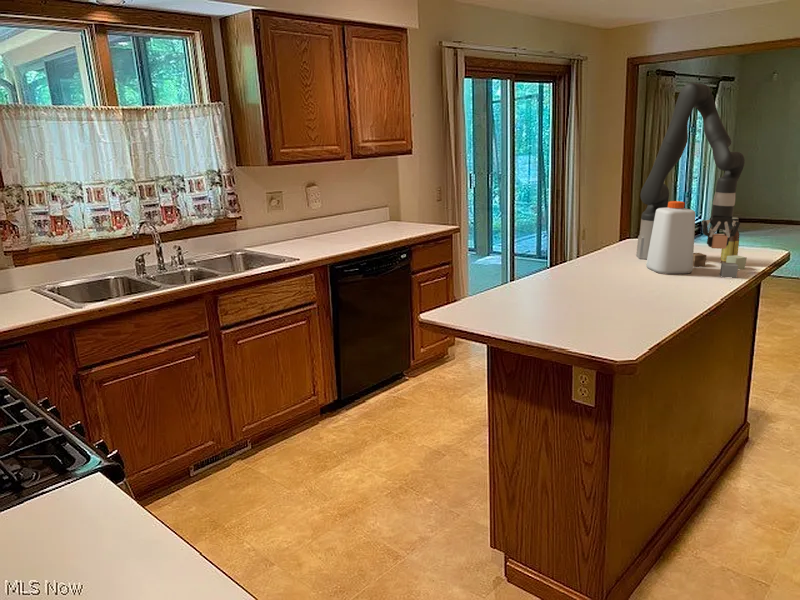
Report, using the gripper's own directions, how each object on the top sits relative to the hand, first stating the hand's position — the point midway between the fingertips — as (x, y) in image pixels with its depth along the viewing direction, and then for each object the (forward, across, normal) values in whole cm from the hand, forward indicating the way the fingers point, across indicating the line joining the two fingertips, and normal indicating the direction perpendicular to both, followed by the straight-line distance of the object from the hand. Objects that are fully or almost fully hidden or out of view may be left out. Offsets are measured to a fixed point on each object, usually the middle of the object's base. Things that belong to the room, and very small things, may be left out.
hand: (717, 246), depth 237 cm
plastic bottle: (+11, +18, +1) cm, 21 cm away
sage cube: (+10, -10, -6) cm, 16 cm away
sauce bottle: (+10, -10, -14) cm, 20 cm away
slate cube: (+10, -2, +9) cm, 14 cm away
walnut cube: (+10, +4, -10) cm, 15 cm away
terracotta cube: (0, 0, 0) cm, 0 cm away
